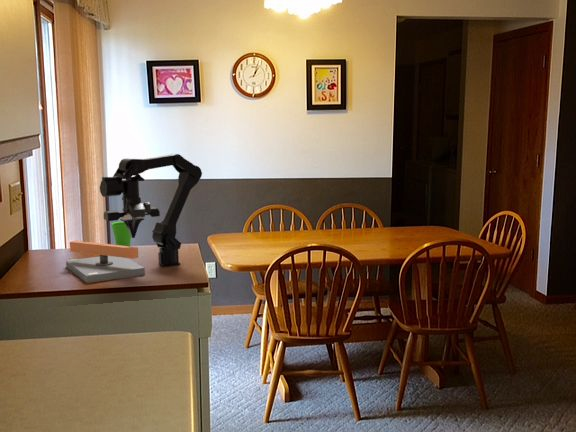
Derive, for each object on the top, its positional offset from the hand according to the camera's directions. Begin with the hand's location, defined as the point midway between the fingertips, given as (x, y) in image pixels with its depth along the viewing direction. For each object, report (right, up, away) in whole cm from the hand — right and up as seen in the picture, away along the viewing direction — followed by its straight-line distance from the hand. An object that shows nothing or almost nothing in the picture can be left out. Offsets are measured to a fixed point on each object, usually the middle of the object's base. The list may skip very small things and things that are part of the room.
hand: (133, 237), depth 219 cm
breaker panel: (-11, -12, +2) cm, 16 cm away
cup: (-14, -6, +40) cm, 43 cm away
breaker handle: (-11, -10, +2) cm, 15 cm away
